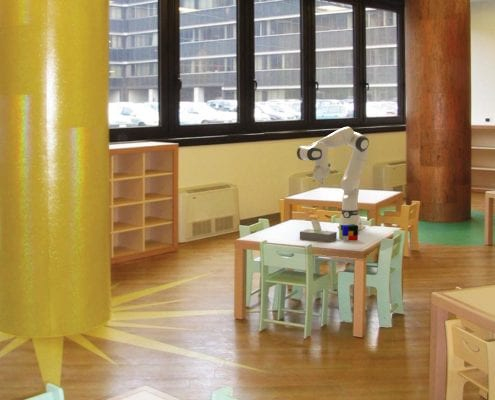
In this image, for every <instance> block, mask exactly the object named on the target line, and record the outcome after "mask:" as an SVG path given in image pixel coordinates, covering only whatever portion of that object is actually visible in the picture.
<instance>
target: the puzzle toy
mask: <svg viewBox="0 0 495 400" xmlns="http://www.w3.org/2000/svg"><path fill="white" fill-rule="evenodd" d="M338 224H339V223H338ZM338 226H339V228H338V229H339V230H338V235H339V237H338V239H340V240H341V241H343V242H350V241H351V242H352V241H353V242H355V241H359V230H358V226H357V225H355V224H339V225H338Z"/></svg>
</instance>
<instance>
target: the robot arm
mask: <svg viewBox="0 0 495 400" xmlns="http://www.w3.org/2000/svg"><path fill="white" fill-rule="evenodd" d="M344 145H346V146H348V147H350V148H353V150H352V152H351V155H350V158H349V161H348V164H347V167H346V169H345V172H344V173H343V177H342V178H341V181H340V188H341V189H342V190H343V195H342V206H341V207H342V208H341V215H340V216H339V221H338V222H339V223H338V224H355V225H357V226H358V231H359V230H360V231H362V230H364V228H366V225H363V219H362V218H361V216H360V214H359V213H360V209H358V199H359V191H360V184H361V180H360V176H361V174H362V172H363V170H364V168H365V164H366V161H367V159H368V154H369V145H370V141H369V139H368V137H366V136H365V135H363V134H361V133H360V132H356V131H354V130H353V128H352V127H350V126H344V127H342V128H339V129H337V130H335V131H334V132H332V133H330V134H328V135H326V136H325V137H322V138H321V139H318V140H317V141H314V142H312V143H310V144H308V145H300V146H299V147H298V149H297V151H296V157H297V158H298V160H300V161H308V162H313V161H314V168H313V171H312V179H313V180H318V184H319V186H323V185H324V181H325V179H326V178H329V177H330V176H331V163H330V162H329V160H328V157H329V156H328V155H329V149H337V148H340V147H342V146H344ZM337 228H338V229H339V225H337Z"/></svg>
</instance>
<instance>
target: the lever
mask: <svg viewBox="0 0 495 400" xmlns="http://www.w3.org/2000/svg"><path fill="white" fill-rule="evenodd" d="M309 214H310V213H309ZM319 218H320V216H319V215H318V214H310V215H309V216H308V219H309V220H310V222H311V225H312V230H314V231H317V232H321V231H322V227H321V223H320V220H319Z"/></svg>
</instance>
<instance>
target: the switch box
mask: <svg viewBox="0 0 495 400" xmlns="http://www.w3.org/2000/svg"><path fill="white" fill-rule="evenodd" d="M321 230H322V229H321ZM337 234H338V233H337V231H331V230H325V229H324V230H322V231H321V232H317V231H314V229H310V228H308V229H307V228H306V229H304V230H301V231H299V240H305V239H306V240H307V241H317V242H324V241H326V243H330V242H333V241H335V240H337V237H338V236H337Z"/></svg>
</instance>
